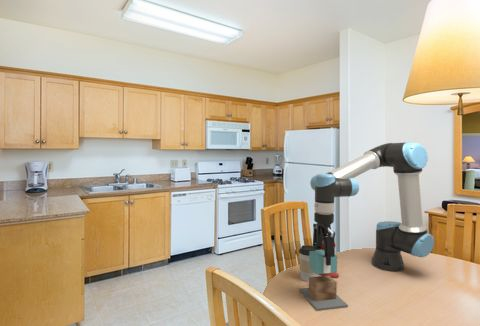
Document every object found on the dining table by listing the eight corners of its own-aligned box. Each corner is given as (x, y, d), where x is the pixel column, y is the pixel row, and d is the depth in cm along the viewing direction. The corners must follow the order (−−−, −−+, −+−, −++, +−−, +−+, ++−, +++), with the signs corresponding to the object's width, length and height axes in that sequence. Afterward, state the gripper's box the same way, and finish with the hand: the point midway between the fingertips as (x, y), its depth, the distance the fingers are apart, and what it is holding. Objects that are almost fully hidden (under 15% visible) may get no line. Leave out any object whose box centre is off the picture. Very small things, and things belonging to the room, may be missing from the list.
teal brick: (328, 266, 120) (329, 249, 120) (336, 272, 114) (337, 254, 114) (309, 268, 118) (309, 251, 118) (316, 274, 112) (316, 256, 112)
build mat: (326, 287, 126) (326, 285, 126) (347, 307, 110) (347, 305, 110) (299, 290, 123) (299, 288, 123) (316, 310, 108) (316, 308, 108)
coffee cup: (320, 277, 136) (321, 246, 136) (314, 284, 129) (314, 251, 128) (302, 272, 141) (303, 242, 141) (295, 279, 134) (295, 247, 133)
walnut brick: (328, 291, 121) (328, 275, 120) (336, 299, 115) (336, 281, 115) (308, 293, 119) (308, 277, 118) (315, 301, 113) (315, 283, 113)
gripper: (305, 208, 124) (303, 261, 125) (327, 218, 105) (325, 280, 106) (321, 207, 125) (319, 259, 126) (346, 217, 107) (344, 278, 108)
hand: (322, 269), depth 116 cm, fingers closed on teal brick, 6 cm apart
